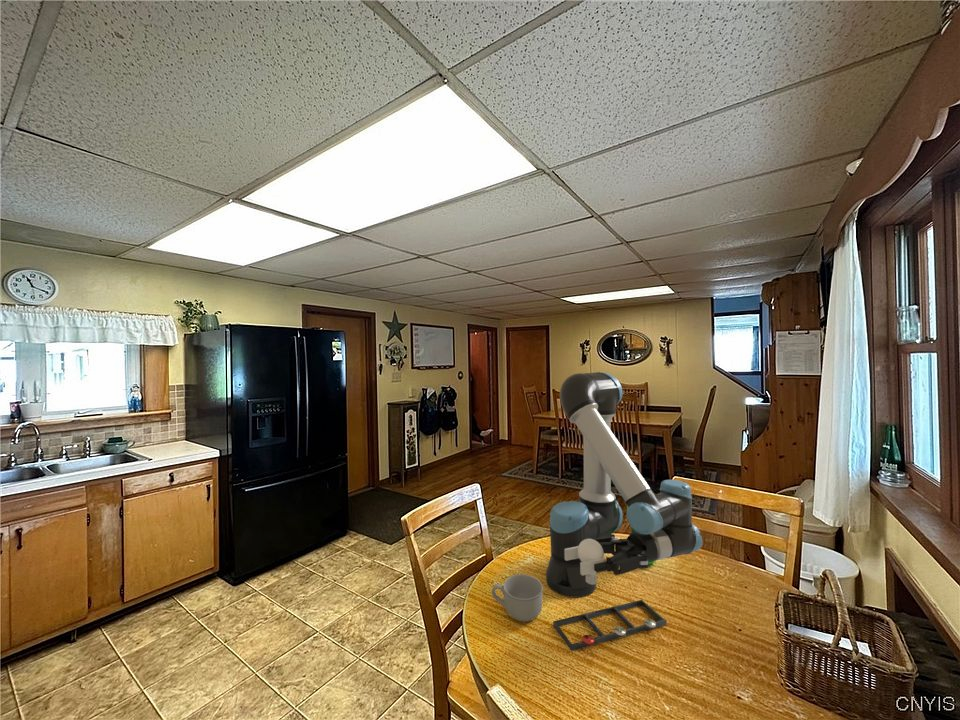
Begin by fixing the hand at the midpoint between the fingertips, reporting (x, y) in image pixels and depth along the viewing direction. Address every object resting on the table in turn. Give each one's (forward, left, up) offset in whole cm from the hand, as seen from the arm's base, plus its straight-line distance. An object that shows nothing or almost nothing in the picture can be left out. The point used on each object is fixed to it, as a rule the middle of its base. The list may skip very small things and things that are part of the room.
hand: (573, 561), depth 93 cm
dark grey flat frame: (-2, +11, -19) cm, 22 cm away
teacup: (-14, -10, -19) cm, 26 cm away
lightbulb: (0, +5, -7) cm, 8 cm away
